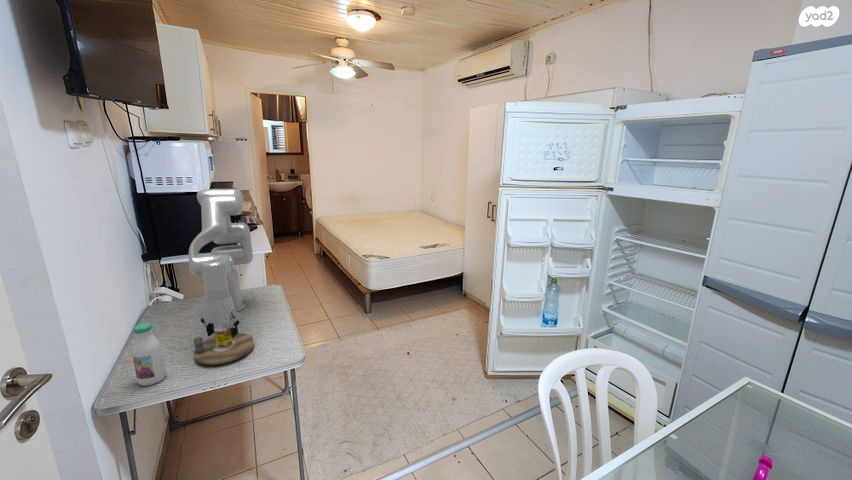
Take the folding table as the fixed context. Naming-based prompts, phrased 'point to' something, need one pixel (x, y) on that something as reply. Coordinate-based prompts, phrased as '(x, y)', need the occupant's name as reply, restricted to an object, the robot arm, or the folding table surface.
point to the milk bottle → (147, 356)
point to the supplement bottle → (223, 336)
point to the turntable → (222, 350)
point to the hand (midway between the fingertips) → (222, 335)
